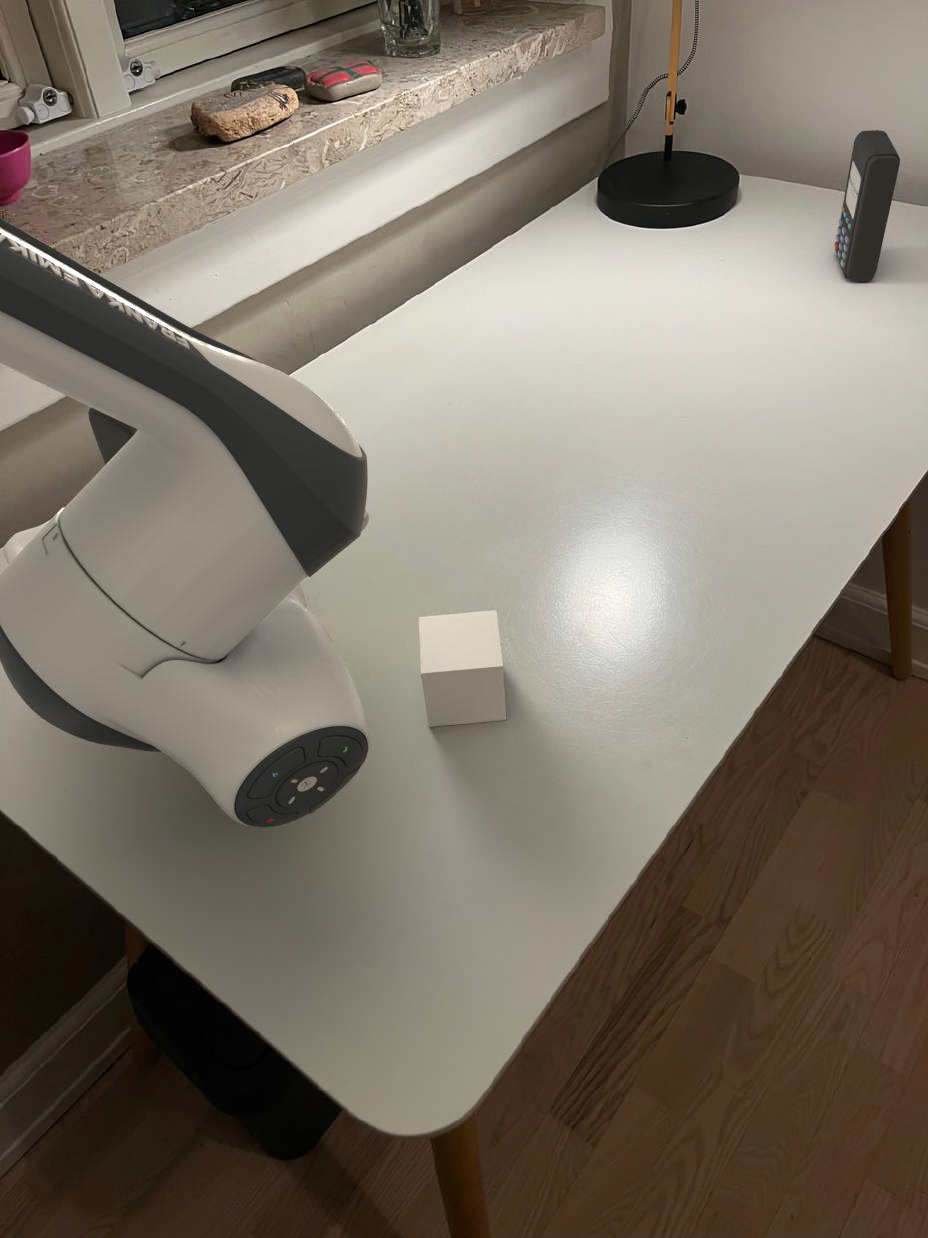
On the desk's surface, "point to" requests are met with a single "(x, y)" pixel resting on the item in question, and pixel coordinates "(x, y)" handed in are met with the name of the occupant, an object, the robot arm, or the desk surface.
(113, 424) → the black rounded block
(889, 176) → the card reader
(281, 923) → the desk surface
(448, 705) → the white cube
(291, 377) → the robot arm
